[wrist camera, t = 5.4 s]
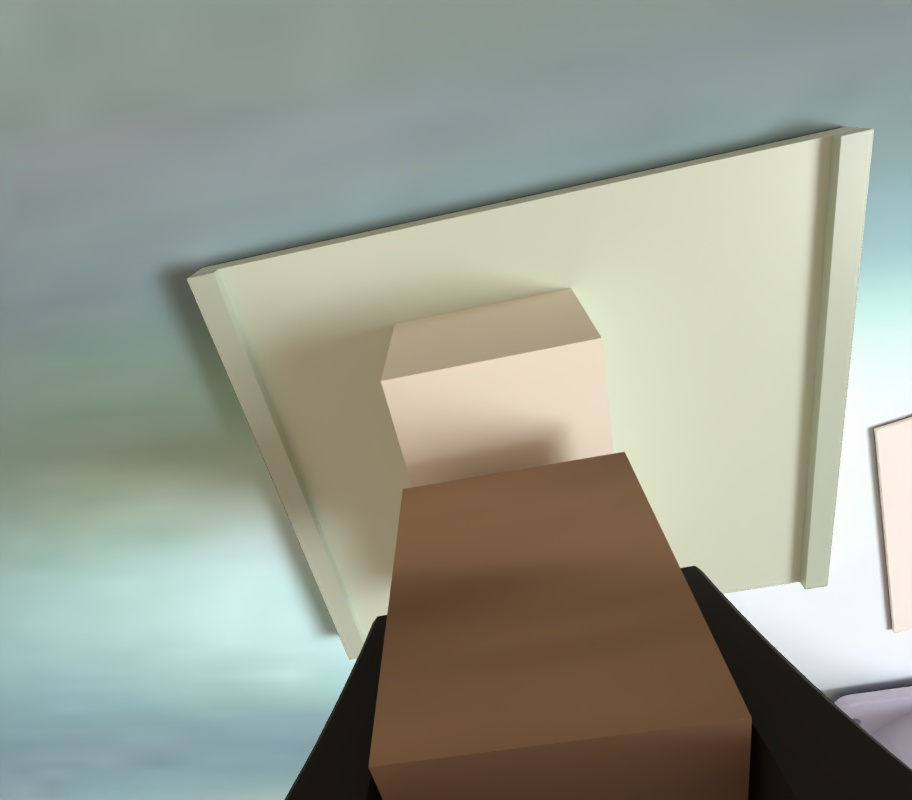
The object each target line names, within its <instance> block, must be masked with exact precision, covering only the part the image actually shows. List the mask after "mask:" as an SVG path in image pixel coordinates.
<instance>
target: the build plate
mask: <svg viewBox="0 0 912 800" xmlns="http://www.w3.org/2000/svg"><path fill="white" fill-rule="evenodd" d="M873 133H874V129H868V128H857V127H842V128H837V129H833V130H828V131H824V132H819V133H815V134H810V135H806V136H801V137H796V138H792V139H787V140H783V141H778V142H774V143H769V144H764V145H760V146H755V147H751V148H746V149H742V150H737V151H733V152H728V153H723V154H719V155H714V156H710V157H705V158H701V159H696V160H691V161H687V162H682V163H678V164H673V165H669V166H664V167H660V168H655V169H650V170H646V171H641V172H637V173H632V174H628V175H623V176H618V177H614V178H609V179H605V180H600V181H596V182H591V183H587V184H582V185H577V186H573V187H568V188H564V189H559V190H555V191H550V192H545V193H541V194H536V195H532V196H527V197H523V198H518V199H514V200H509V201H504V202H500V203H495V204H491V205H486V206H482V207H477V208H472V209H468V210H463V211H459V212H454V213H450V214H445V215H441V216H436V217H431V218H427V219H422V220H418V221H413V222H409V223H404V224H399V225H395V226H390V227H386V228H381V229H377V230H372V231H368V232H363V233H358V234H354V235H349V236H345V237H340V238H336V239H331V240H326V241H322V242H317V243H313V244H308V245H304V246H299V247H295V248H290V249H285V250H281V251H276V252H272V253H267V254H263V255H258V256H253V257H249V258H244V259H240V260H235V261H231V262H226V263H222V264H217V265H212V266H208V267H203V268H201V269H200V270H198V271H197V272H196V273H194V274H193V275H191V276H190V277H189V278H187V281H188V283H189V285H190V288H191V290H192V292H193V295H194V297H195V299H196V302H197V304H198V306H199V309H200V311H201V313H202V316H203V318H204V320H205V323H206V325H207V328H208V330H209V332H210V335H211V337H212V339H213V342H214V344H215V346H216V349H217V351H218V353H219V356H220V358H221V360H222V363H223V365H224V367H225V370H226V372H227V374H228V377H229V379H230V381H231V384H232V386H233V388H234V391H235V393H236V395H237V398H238V400H239V403H240V405H241V407H242V410H243V412H244V414H245V417H246V419H247V421H248V424H249V426H250V428H251V431H252V433H253V435H254V438H255V440H256V442H257V445H258V447H259V449H260V452H261V454H262V456H263V459H264V461H265V463H266V466H267V468H268V470H269V473H270V475H271V477H272V480H273V482H274V485H275V487H276V489H277V492H278V494H279V496H280V499H281V501H282V503H283V506H284V508H285V510H286V513H287V515H288V517H289V520H290V522H291V524H292V527H293V529H294V531H295V534H296V536H297V538H298V541H299V543H300V545H301V548H302V550H303V552H304V555H305V557H306V560H307V562H308V564H309V567H310V569H311V571H312V574H313V576H314V578H315V581H316V583H317V585H318V588H319V590H320V592H321V595H322V597H323V599H324V602H325V604H326V606H327V609H328V611H329V613H330V616H331V618H332V620H333V623H334V625H335V627H336V630H337V632H338V634H339V637H340V639H341V642H342V644H343V646H344V649H345V651H346V653H347V656H348V658H349V660H350V659H356V658H358V656H359V654H360V651H361V649H362V647H363V644H364V642H365V640H366V638H367V635H368V633H369V630H370V628H371V626H372V623H373V622H374V620H375V619H376V618H377V617H378V616H383V615H387V613H388V605H389V597H390V588H391V580H392V572H393V564H394V556H395V548H396V540H397V532H398V524H399V516H400V508H401V500H402V491H403V489H406V488H412V485H411V481H410V478H409V474H408V471H407V468H406V464H405V461H404V458H403V454H402V451H401V448H400V444H399V441H398V438H397V434H396V431H395V428H394V424H393V421H392V417H391V414H390V411H389V407H388V404H387V401H386V397H385V394H384V391H383V387H382V384H381V378H382V374H383V370H384V366H385V362H386V357H387V353H388V349H389V345H390V341H391V337H392V333H393V329H394V325H395V324H397V323H402V322H407V321H412V320H416V319H421V318H426V317H431V316H436V315H441V314H446V313H451V312H456V311H461V310H465V309H470V308H475V307H480V306H485V305H490V304H495V303H500V302H505V301H510V300H514V299H519V298H524V297H529V296H534V295H539V294H544V293H549V292H554V291H559V290H563V289H568V288H572V290H573V292H574V293H575V295H576V297H577V298H578V300H579V302H580V303H581V305H582V306H583V308H584V310H585V311H586V313H587V315H588V316H589V318H590V319H591V321H592V323H593V324H594V326H595V328H596V329H597V331H598V332H599V334H600V336H601V337H602V344H603V354H604V363H605V373H606V382H607V392H608V401H609V411H610V420H611V430H612V439H613V449H614V453H620V452H625V453H626V456H627V458H628V460H629V462H630V464H631V466H632V468H633V470H634V472H635V474H636V476H637V479H638V481H639V483H640V485H641V487H642V489H643V491H644V493H645V495H646V497H647V500H648V502H649V504H650V506H651V508H652V510H653V512H654V514H655V516H656V518H657V520H658V523H659V525H660V527H661V529H662V531H663V533H664V535H665V537H666V539H667V541H668V543H669V546H670V548H671V550H672V552H673V554H674V556H675V558H676V560H677V562H678V564H679V566H680V568H683V567H690V566H696V567H698V568H699V569H701V570H702V571H703V572H704V573H705V575H706V576H707V577H708V578H709V579H710V580H711V581H712V583H713V584H714V585H715V586H716V587H717V588H718V589H719V590H720V591H721V593H722V594H724V593H730V592H736V591H743V590H749V589H756V588H762V587H769V586H775V585H782V584H788V583H794V582H800V583H801V584H802V585H803V587H804V588H805V589H811V588H818V587H824V586H827V584H828V575H829V565H830V555H831V545H832V535H833V525H834V516H835V506H836V496H837V486H838V476H839V467H840V457H841V447H842V437H843V427H844V418H845V408H846V398H847V388H848V378H849V368H850V359H851V349H852V339H853V329H854V319H855V310H856V300H857V290H858V280H859V270H860V261H861V251H862V241H863V231H864V221H865V211H866V202H867V192H868V182H869V172H870V162H871V153H872V143H873Z"/></svg>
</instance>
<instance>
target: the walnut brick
mask: <svg viewBox="0 0 912 800" xmlns="http://www.w3.org/2000/svg"><path fill="white" fill-rule="evenodd" d="M751 727H752V717H751V715H750V713H749V711H748V709H747V707H746V705H745V703H744V700H743V698H742V696H741V694H740V692H739V690H738V688H737V686H736V684H735V682H734V680H733V677H732V675H731V673H730V671H729V669H728V667H727V665H726V663H725V661H724V659H723V656H722V654H721V652H720V650H719V648H718V646H717V644H716V642H715V640H714V638H713V636H712V633H711V631H710V629H709V627H708V625H707V623H706V621H705V619H704V617H703V615H702V613H701V610H700V608H699V606H698V604H697V602H696V600H695V598H694V596H693V594H692V592H691V590H690V587H689V585H688V583H687V581H686V579H685V577H684V575H683V573H682V571H681V569H680V566H679V564H678V562H677V560H676V558H675V556H674V554H673V552H672V550H671V548H670V546H669V543H668V541H667V539H666V537H665V535H664V533H663V531H662V529H661V527H660V525H659V523H658V520H657V518H656V516H655V514H654V512H653V510H652V508H651V506H650V504H649V502H648V500H647V497H646V495H645V493H644V491H643V489H642V487H641V485H640V483H639V481H638V479H637V476H636V474H635V472H634V470H633V468H632V466H631V464H630V462H629V460H628V458H627V456H626V453H625V452H620V453H614V454H608V455H602V456H596V457H590V458H584V459H578V460H572V461H566V462H560V463H554V464H549V465H543V466H537V467H531V468H525V469H519V470H513V471H507V472H501V473H495V474H489V475H483V476H477V477H471V478H465V479H459V480H454V481H448V482H442V483H436V484H430V485H424V486H418V487H412V488H406V489H403V491H402V500H401V508H400V516H399V524H398V532H397V540H396V548H395V556H394V564H393V572H392V580H391V588H390V597H389V605H388V613H387V621H386V629H385V637H384V645H383V653H382V661H381V669H380V677H379V685H378V694H377V702H376V710H375V718H374V726H373V734H372V742H371V750H370V758H369V766H368V767H369V770H370V772H371V774H372V776H373V779H374V781H375V783H376V785H377V788H378V790H379V792H380V794H381V797H382V799H383V800H748V792H749V770H750V749H751Z"/></svg>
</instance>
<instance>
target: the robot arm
mask: <svg viewBox="0 0 912 800" xmlns="http://www.w3.org/2000/svg"><path fill="white" fill-rule="evenodd" d="M680 569H681V571H682V573H683V575H684V577H685V579H686V581H687V583H688V585H689V587H690V590H691V592H692V594H693V596H694V598H695V600H696V602H697V604H698V606H699V608H700V610H701V613H702V615H703V617H704V619H705V621H706V623H707V625H708V627H709V629H710V631H711V633H712V636H713V638H714V640H715V642H716V644H717V646H718V648H719V650H720V652H721V654H722V656H723V659H724V661H725V663H726V665H727V667H728V669H729V671H730V673H731V675H732V677H733V680H734V682H735V684H736V686H737V688H738V690H739V692H740V694H741V696H742V698H743V700H744V703H745V705H746V707H747V709H748V711H749V713H750V715H751V717H752V727H751V749H750V770H749V792H748V800H912V686H909V687H901V688H894V689H887V690H880V691H872V692H865V693H858V694H851V695H846V696H842V697H841V698H839V699H837V700H836V701H835V703H833V702H832V701H831V700H830V699H829V698H828V697H827V696H825V695H824V694H823V693H822V692H821V691H820V690H819V689H818V688H817V687H816V686H814V685H813V684H812V683H811V682H810V681H809V680H808V679H807V678H806V677H805V676H804V675H803V674H802V673H801V672H800V671H799V670H798V669H797V668H795V667H794V666H793V665H792V664H791V663H790V662H789V661H788V660H787V659H786V658H785V657H784V656H783V655H782V654H781V653H780V652H779V651H778V650H777V649H776V648H775V647H773V646H772V645H771V644H770V643H769V642H768V641H767V640H766V639H765V638H764V637H763V636H762V635H761V634H760V633H759V632H758V631H757V629H756V628H755V627H754V626H753V625H752V624H751V623H750V622H749V621H748V620H747V619H746V618H745V617H744V616H743V615H742V614H741V613H740V612H739V611H738V610H737V609H736V608H735V607H734V606H733V604H732V603H731V602H730V601H729V600H728V599H727V598H726V597H725V596H724V595H723V594H722V593H721V591H720V590H719V589H718V588H717V587H716V586H715V585H714V584H713V583H712V581H711V580H710V579H709V578H708V577H707V576H706V575H705V573H704V572H703V571H702V570H701V569H699V568H698V567H696V566H690V567H683V568H680ZM386 621H387V615H383V616H378V617H377V618H376V619H375V620H374V622H373V623H372V626H371V628H370V630H369V633H368V635H367V638H366V640H365V642H364V644H363V647H362V649H361V651H360V654H359V656H358V658H357V660H356V663H355V665H354V667H353V669H352V671H351V673H350V676H349V678H348V680H347V682H346V684H345V686H344V688H343V690H342V693H341V695H340V697H339V699H338V701H337V703H336V705H335V707H334V709H333V711H332V713H331V715H330V717H329V719H328V721H327V723H326V725H325V727H324V729H323V731H322V733H321V735H320V737H319V738H318V740H317V742H316V744H315V746H314V748H313V750H312V752H311V754H310V755H309V757H308V759H307V761H306V763H305V764H304V766H303V768H302V770H301V772H300V773H299V775H298V777H297V779H296V780H295V782H294V784H293V786H292V788H291V789H290V791H289V793H288V795H287V797H286V798H285V800H383V799H382V797H381V794H380V792H379V790H378V788H377V785H376V783H375V781H374V779H373V776H372V774H371V772H370V770H369V767H368V766H369V758H370V750H371V742H372V734H373V726H374V718H375V710H376V702H377V694H378V685H379V677H380V669H381V661H382V653H383V645H384V637H385V629H386Z"/></svg>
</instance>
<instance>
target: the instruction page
mask: <svg viewBox="0 0 912 800" xmlns="http://www.w3.org/2000/svg"><path fill="white" fill-rule="evenodd" d="M874 431H875V442H876V453H877V464H878V475H879V486H880V498H881V509H882V520H883V531H884V542H885V553H886V564H887V575H888V586H889V597H890V608H891V619H892V630H893V632H894V633H898V632H902V631H906V630H910V629H912V417H909V418H906V419H903V420H900V421H897V422H893V423H890V424H887V425H884V426H881V427H877V428H874Z"/></svg>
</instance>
